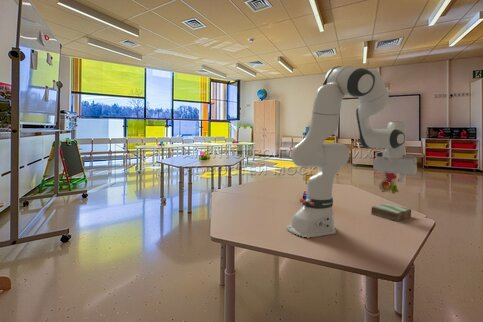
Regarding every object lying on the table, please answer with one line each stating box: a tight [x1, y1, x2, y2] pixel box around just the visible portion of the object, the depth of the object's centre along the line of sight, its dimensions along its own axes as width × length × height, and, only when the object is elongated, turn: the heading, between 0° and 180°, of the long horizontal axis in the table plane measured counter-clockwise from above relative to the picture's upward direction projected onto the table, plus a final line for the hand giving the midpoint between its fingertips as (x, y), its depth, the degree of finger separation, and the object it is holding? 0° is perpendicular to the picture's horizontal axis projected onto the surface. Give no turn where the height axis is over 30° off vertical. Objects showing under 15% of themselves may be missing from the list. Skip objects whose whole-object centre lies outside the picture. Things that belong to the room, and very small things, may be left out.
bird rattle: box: [378, 172, 400, 194], centre depth 129 cm, size 6×11×9 cm
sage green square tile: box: [370, 202, 412, 222], centre depth 131 cm, size 13×13×4 cm
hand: (393, 181), depth 128 cm, fingers open, 5 cm apart
